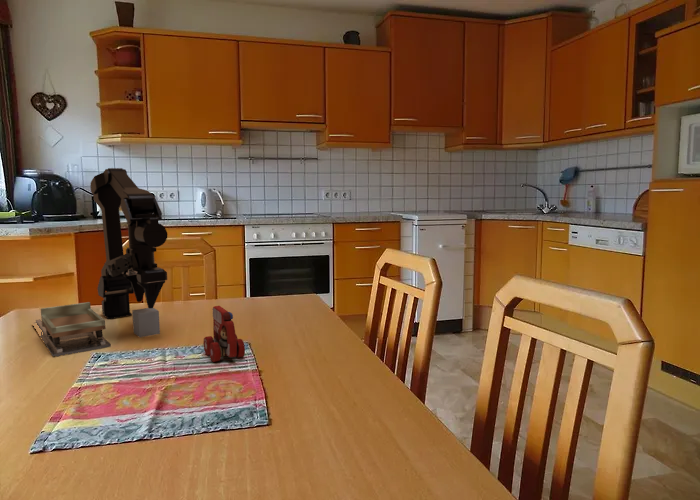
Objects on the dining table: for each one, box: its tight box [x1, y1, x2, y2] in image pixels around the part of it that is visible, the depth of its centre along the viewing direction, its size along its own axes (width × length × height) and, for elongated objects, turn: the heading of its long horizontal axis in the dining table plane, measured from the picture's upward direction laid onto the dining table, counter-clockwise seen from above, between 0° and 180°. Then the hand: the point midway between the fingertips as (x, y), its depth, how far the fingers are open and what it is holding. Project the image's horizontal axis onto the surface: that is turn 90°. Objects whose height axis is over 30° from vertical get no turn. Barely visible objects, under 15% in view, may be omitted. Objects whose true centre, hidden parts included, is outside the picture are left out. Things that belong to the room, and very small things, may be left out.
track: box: [35, 319, 112, 357], centre depth 133 cm, size 12×34×1 cm, turn 38°
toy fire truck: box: [203, 305, 246, 363], centre depth 116 cm, size 7×12×10 cm, turn 29°
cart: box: [40, 301, 107, 345], centre depth 127 cm, size 11×16×6 cm
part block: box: [131, 307, 161, 338], centre depth 134 cm, size 5×5×6 cm
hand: (144, 304), depth 134 cm, fingers open, 9 cm apart
